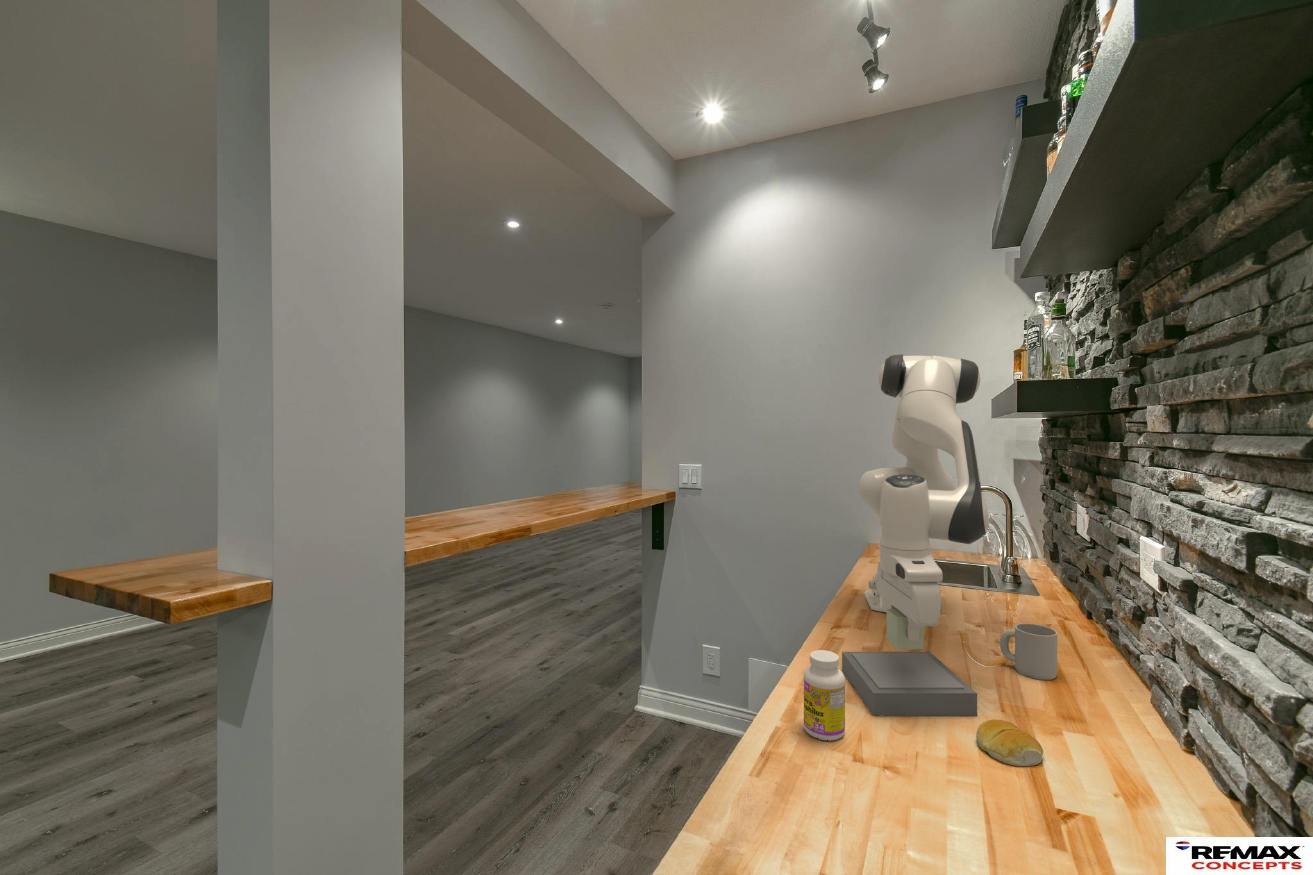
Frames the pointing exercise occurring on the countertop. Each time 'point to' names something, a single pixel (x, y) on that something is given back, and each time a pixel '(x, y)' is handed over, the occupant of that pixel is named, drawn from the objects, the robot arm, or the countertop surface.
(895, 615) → the sage block
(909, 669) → the tray
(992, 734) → the bread roll
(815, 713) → the supplement bottle
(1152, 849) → the countertop surface
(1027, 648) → the cup
